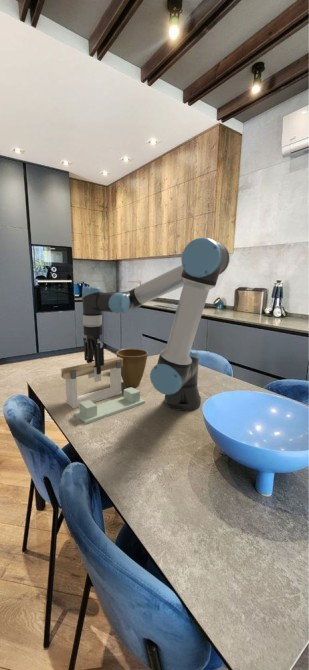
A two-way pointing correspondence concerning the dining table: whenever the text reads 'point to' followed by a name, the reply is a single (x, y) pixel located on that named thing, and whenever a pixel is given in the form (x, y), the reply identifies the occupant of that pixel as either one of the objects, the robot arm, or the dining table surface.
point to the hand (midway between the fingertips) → (94, 379)
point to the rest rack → (108, 406)
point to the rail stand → (97, 395)
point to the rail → (89, 368)
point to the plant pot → (132, 365)
